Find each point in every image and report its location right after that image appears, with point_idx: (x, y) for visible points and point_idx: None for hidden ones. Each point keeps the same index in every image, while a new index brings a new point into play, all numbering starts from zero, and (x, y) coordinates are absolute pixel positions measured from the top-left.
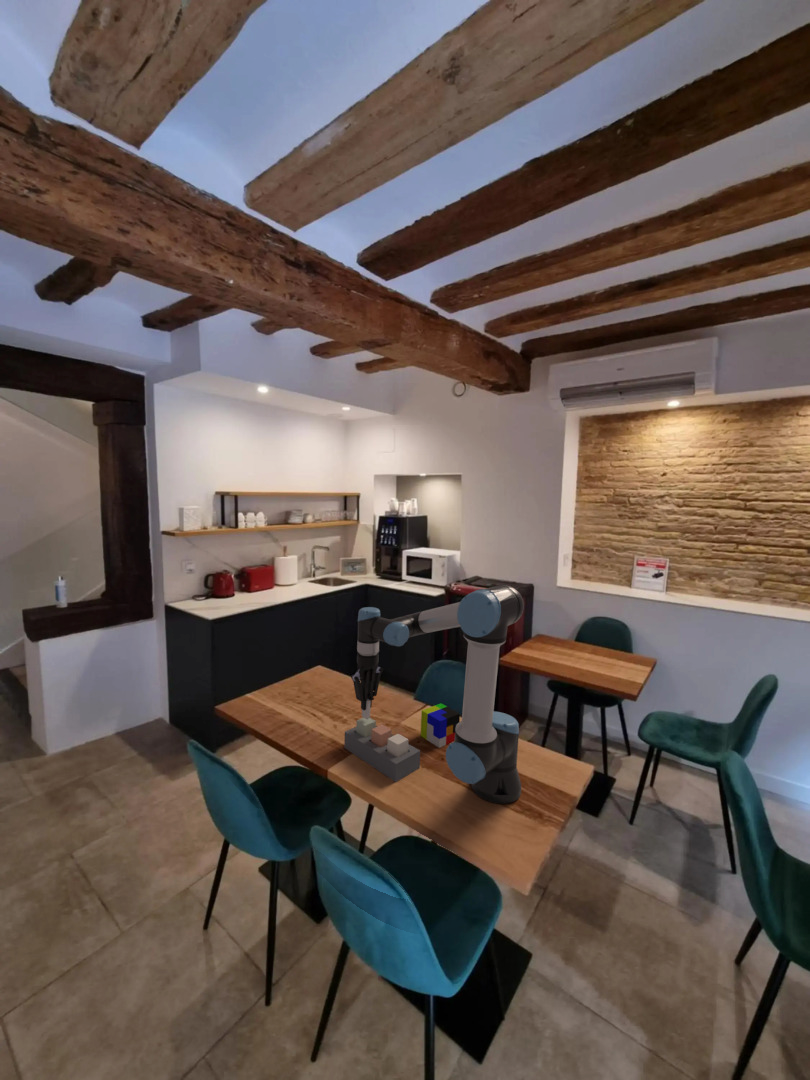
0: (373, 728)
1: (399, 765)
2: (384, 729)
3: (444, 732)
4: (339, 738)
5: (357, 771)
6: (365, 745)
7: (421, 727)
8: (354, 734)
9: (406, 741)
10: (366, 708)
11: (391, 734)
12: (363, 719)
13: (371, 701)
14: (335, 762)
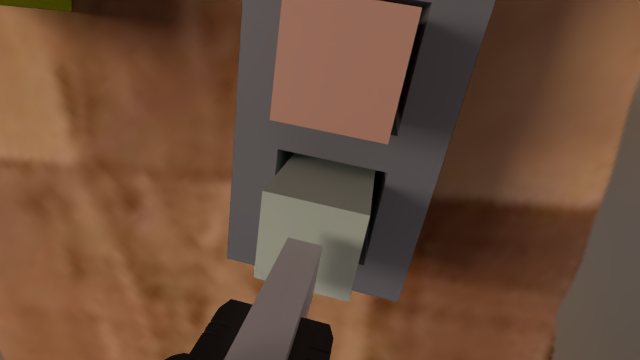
0: (366, 138)
1: None
2: (320, 47)
3: None
4: None
5: (541, 77)
6: (455, 120)
7: (24, 2)
8: (391, 245)
9: None
10: (299, 322)
11: (241, 55)
12: None
13: (197, 350)
14: (522, 214)
